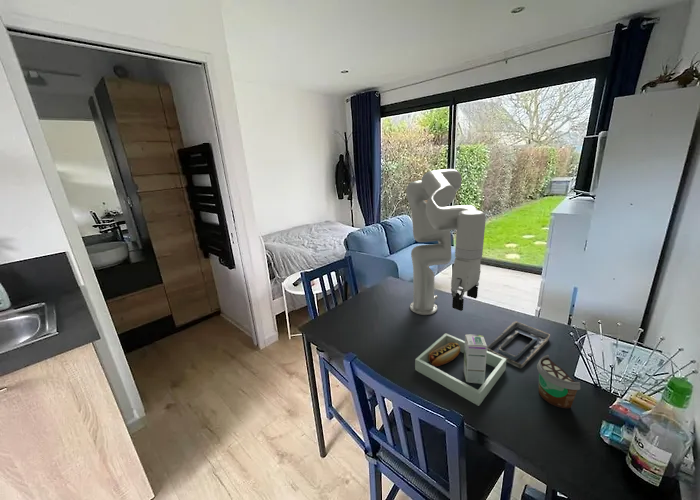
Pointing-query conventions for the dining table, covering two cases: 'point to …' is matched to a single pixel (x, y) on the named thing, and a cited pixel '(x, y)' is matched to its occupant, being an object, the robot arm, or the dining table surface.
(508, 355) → the picture frame
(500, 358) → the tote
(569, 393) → the food container
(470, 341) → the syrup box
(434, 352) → the hot dog
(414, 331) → the dining table surface
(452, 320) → the dining table surface
